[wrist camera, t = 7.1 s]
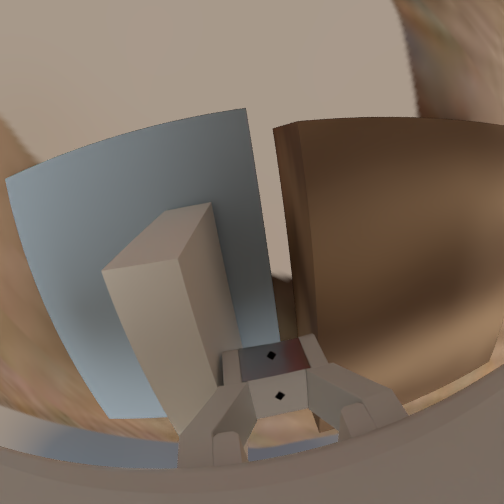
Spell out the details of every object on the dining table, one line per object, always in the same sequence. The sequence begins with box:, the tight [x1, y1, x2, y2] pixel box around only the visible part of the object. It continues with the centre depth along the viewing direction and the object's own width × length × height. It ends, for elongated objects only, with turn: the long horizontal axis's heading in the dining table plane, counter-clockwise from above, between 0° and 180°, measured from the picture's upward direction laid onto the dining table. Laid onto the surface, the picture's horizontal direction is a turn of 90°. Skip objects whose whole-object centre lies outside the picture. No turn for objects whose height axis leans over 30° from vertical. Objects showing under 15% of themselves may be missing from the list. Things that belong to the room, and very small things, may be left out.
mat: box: [5, 108, 280, 419], centre depth 14 cm, size 16×12×1 cm
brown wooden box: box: [273, 117, 504, 433], centre depth 13 cm, size 14×12×4 cm
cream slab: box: [101, 202, 248, 458], centre depth 11 cm, size 9×6×2 cm
